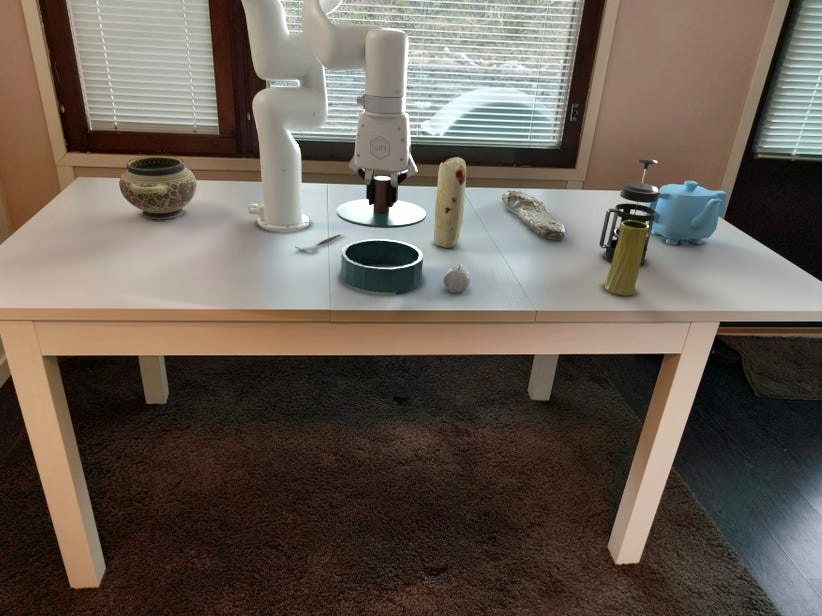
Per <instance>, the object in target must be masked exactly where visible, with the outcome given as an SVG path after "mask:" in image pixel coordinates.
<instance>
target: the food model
mask: <svg viewBox="0 0 822 616" xmlns="http://www.w3.org/2000/svg"><path fill="white" fill-rule="evenodd" d="M466 183H467V164H466V161H465V160H464V159H463V158H461V157H459V156H455V157H450V158H448V159H447V160H445V161H444V162H440V164H439V167H438V175H437V185H436V193H435V194H436V195H435V196H436V197H435V204H434V205H435V206H434V223H433V224H434V225H433V226H434V227H433V241H434V244H435V245H436V246H438V247H441V248H444V249H449V248H453V247H454V246H456V244H457V243H458V241H459V238H460V234H461V228H462V224H463V220H464V212H465V211H464V210H465V197H466V196H465V195H466V185H467V184H466Z"/></svg>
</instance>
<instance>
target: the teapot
mask: <svg viewBox="0 0 822 616" xmlns="http://www.w3.org/2000/svg"><path fill="white" fill-rule="evenodd" d="M683 183H684V184H676V183H669V184H665V185H662V186H661V187H659V188H660V189H662V193H661V194H659V196H658V199H657V201H655V202H651V203H644V206H647V207H650V208H653V209H654V210H656V212H657V213H656V217H655V219H654V222H653V226H652V230H651V234H653V235H656V236H662V237H664V238H666V240H665V243H666V244H669V245H673V246H676V245H679V240H689V241H690V243H692V244H695V245H702V244H703V241H702V239H707V238H710V237H711V236H712V235H713V234H714V233H715V231H716V230H717V227H718V222H719V217H721V216H722V215H724V214H725V210H726V202H727V196H728V192H726V191H724V190H709V189H707V188H705V187H703V186H700V185H699V183H698V182H697V181H694V180H685V181H684V182H683ZM641 213H642V214H644V215H651V214H649V213H647V212H643V211H641ZM646 224H647V225H648V224H649V221H646Z"/></svg>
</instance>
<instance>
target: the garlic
mask: <svg viewBox="0 0 822 616" xmlns="http://www.w3.org/2000/svg"><path fill="white" fill-rule="evenodd" d="M462 266H463V264H461V263H460V264H458V267H452V268H450V269H448V270H447V271H446V272H445V275H444V277H443V285H444V287H445V288H446V289H447V290H448V291H449V292H451V293H453V294H454V293H456V294H457V293H463V292H465V291H466V290H467V289H468V288H469V286H470V283H471V274H470V272H469V271H468V270H466V269H463V268H462Z"/></svg>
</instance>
